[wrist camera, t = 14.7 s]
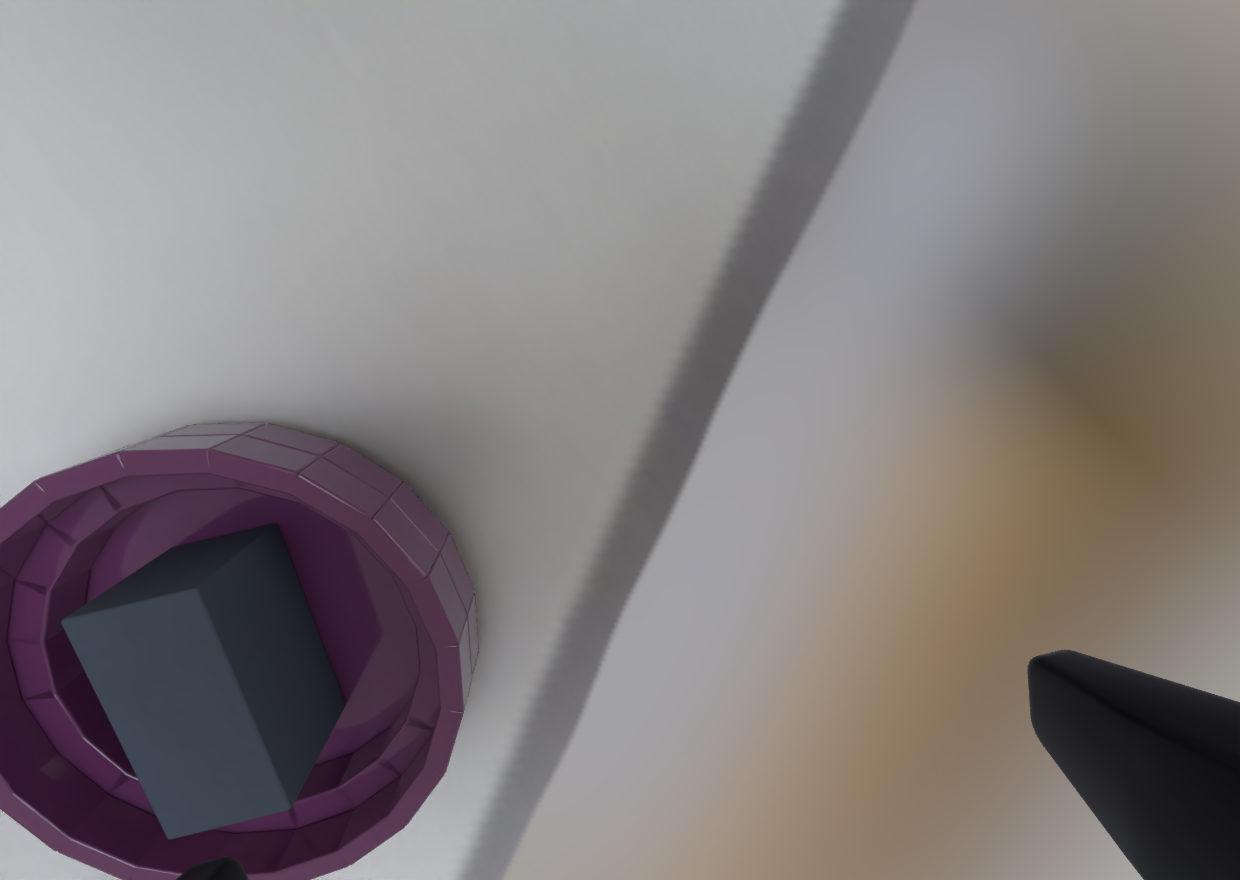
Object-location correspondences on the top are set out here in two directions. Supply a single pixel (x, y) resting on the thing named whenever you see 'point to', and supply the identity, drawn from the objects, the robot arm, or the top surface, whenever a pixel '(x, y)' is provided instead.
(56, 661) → the bowl
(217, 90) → the top surface
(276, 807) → the eraser
